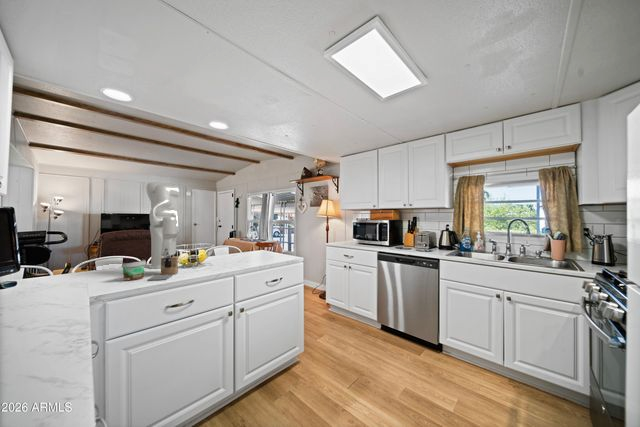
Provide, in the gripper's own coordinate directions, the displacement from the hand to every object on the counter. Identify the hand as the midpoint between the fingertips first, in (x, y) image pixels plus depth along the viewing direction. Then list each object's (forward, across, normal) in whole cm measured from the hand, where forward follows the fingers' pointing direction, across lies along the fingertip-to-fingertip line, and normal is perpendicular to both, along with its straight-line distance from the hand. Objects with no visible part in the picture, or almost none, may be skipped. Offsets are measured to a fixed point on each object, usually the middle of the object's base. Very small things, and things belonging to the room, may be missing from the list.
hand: (169, 266), depth 143 cm
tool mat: (+5, +10, -1) cm, 11 cm away
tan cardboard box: (+5, 0, 0) cm, 5 cm away
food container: (+5, +9, -13) cm, 17 cm away
